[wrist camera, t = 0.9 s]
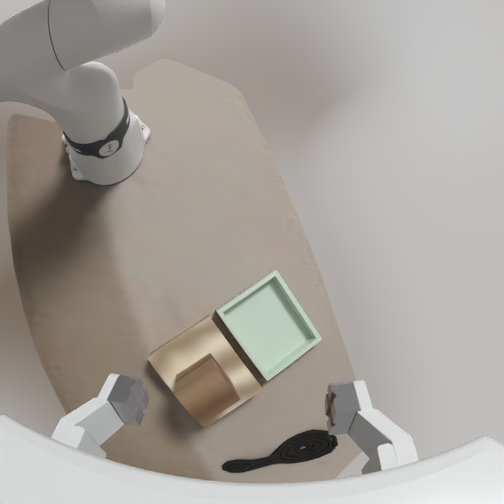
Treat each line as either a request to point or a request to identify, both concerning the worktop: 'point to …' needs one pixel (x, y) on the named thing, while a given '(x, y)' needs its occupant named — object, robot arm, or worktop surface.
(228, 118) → the worktop surface
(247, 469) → the hairbrush
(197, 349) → the birch stand
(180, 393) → the walnut block
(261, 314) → the tray
